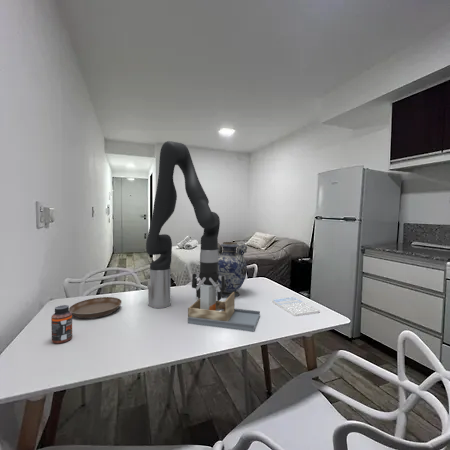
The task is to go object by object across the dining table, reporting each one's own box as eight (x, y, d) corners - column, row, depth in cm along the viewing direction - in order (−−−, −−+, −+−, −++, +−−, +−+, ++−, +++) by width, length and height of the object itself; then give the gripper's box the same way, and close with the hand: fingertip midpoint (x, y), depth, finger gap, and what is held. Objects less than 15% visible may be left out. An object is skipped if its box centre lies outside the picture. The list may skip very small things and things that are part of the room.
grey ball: (215, 318, 101) (215, 311, 101) (217, 315, 104) (217, 308, 104) (223, 319, 100) (223, 311, 100) (225, 316, 103) (225, 308, 103)
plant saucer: (62, 323, 101) (62, 315, 101) (75, 306, 120) (75, 299, 120) (119, 317, 107) (119, 310, 107) (123, 301, 127) (123, 295, 127)
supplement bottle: (69, 342, 85) (69, 309, 85) (48, 345, 84) (48, 310, 83) (74, 335, 91) (74, 303, 91) (55, 337, 89) (54, 304, 89)
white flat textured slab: (294, 317, 108) (294, 313, 108) (271, 302, 127) (271, 298, 127) (320, 313, 113) (321, 309, 113) (294, 299, 132) (294, 296, 131)
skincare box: (208, 316, 103) (208, 286, 103) (199, 314, 105) (199, 285, 105) (216, 311, 108) (216, 283, 108) (207, 310, 110) (208, 282, 110)
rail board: (187, 323, 101) (187, 317, 101) (201, 309, 116) (201, 305, 115) (253, 331, 94) (253, 325, 94) (259, 316, 108) (259, 311, 108)
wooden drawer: (188, 318, 103) (188, 296, 102) (199, 308, 114) (199, 288, 114) (226, 323, 98) (226, 300, 98) (234, 311, 110) (234, 291, 109)
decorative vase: (202, 295, 137) (203, 242, 136) (222, 287, 152) (223, 240, 151) (236, 303, 125) (237, 245, 124) (254, 294, 140) (256, 242, 139)
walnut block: (218, 313, 106) (218, 306, 106) (221, 310, 110) (221, 303, 110) (227, 314, 105) (227, 307, 105) (230, 311, 109) (230, 303, 109)
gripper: (189, 260, 104) (189, 300, 105) (223, 262, 101) (223, 304, 101) (196, 257, 112) (196, 295, 112) (228, 259, 108) (227, 298, 108)
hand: (208, 299), depth 107 cm, fingers open, 8 cm apart
